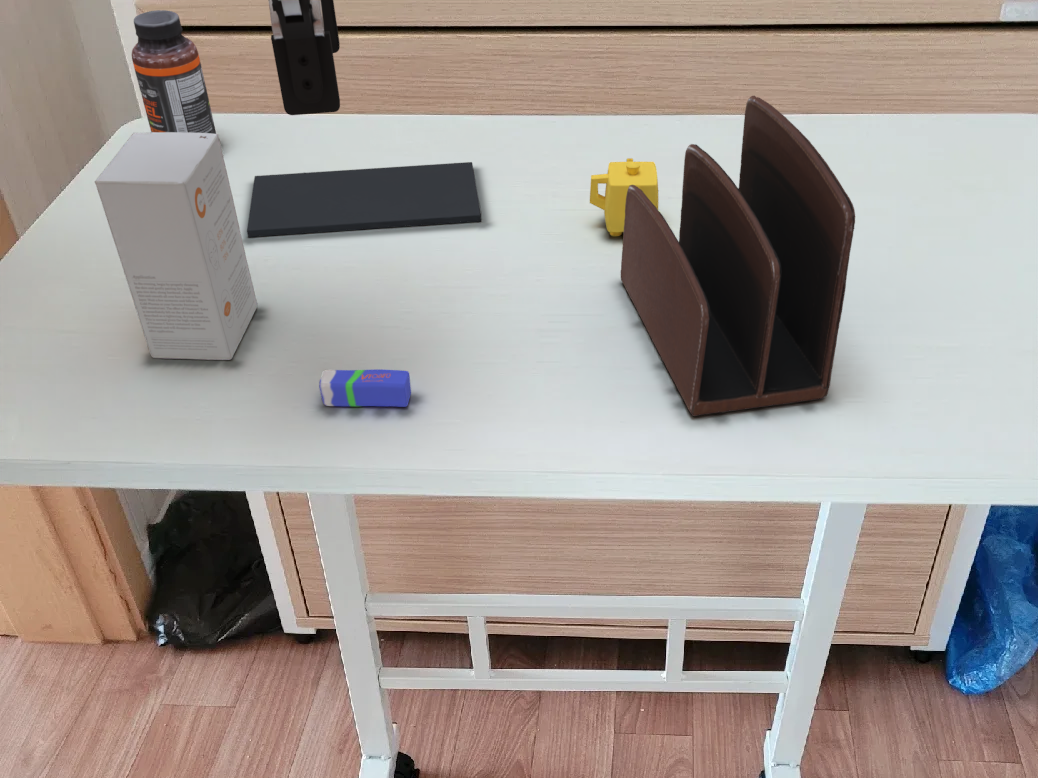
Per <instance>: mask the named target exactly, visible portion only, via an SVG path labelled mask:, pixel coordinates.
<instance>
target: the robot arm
mask: <svg viewBox="0 0 1038 778" xmlns="http://www.w3.org/2000/svg"><path fill="white" fill-rule="evenodd" d="M267 2H268V8H269V9H268V10H269V16H270V24H271V30H272V31H271V32H272V34H271V35H270V40H271V45H272V51H273V56H274V62H275V67H276V72H277V73H276V74H277V78H278V83H279V89H280V93H281V98H282V104H283V109H284V112H285V113H286V114H287V115H289V116H301V115H314V114H315V115H316V114H326V113H328V114H329V113H336V112H338V111H339V110H340V108H341V99H340V92H339V86H338V79H337V72H336V65H335V59H334V54H335V53H338V52H339V51H340V46H341V45H340V44H341V43H340V37H339V30H338V22H337V16H336V15H337V14H336V9H335V1H334V0H268V1H267Z"/></svg>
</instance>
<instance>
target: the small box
mask: <svg viewBox="0 0 1038 778" xmlns="http://www.w3.org/2000/svg"><path fill="white" fill-rule="evenodd" d="M94 184H95V187H96V190H97V193H98V196H99V199H100V202H101V205H102V209H103V211H104V214H105V217H106V221H107V224H108V227H109V230H110V233H111V236H112V239H113V243H114V245H115V248H116V251H117V255H118V258H119V261H120V264H121V267H122V271H123V273H124V276H125V280H126V282H127V285H128V288H129V292H130V295H131V298H132V301H133V305H134V307H135V310H136V313H137V317H138V320H139V323H140V326H141V329H142V332H143V335H144V339H145V342H146V345H147V348H148V351H149V354H150V356H151V357H152V358H153V359H179V360H181V359H182V360H208V361H230V360H232V359H233V358H234V354H235V352H236V351H237V349H238V347H239V345H240V342H241V341H242V340H243V337H244V334H245V333H246V331H247V329H248V327H249V324H250V323H251V320H252V318H253V316H254V314H255V312H256V310H257V308H258V306H259V304H258V300H257V297H256V293H255V288H254V284H253V280H252V274H251V272H250V271H251V270H250V267H249V263H248V259H247V255H246V250H245V246H244V242H243V237H242V233H241V227H240V224H239V223H240V222H239V219H238V215H237V211H236V206H235V202H234V197H233V192H232V187H231V183H230V179H229V175H228V171H227V166H226V162H225V158H224V153H223V149H222V144H221V141H220V136H219V134H218V133H216V134H212V133H188V132H151V131H149V132H148V131H147V132H144V131H143V132H133V133H132V134H131V135H130V137H129V138H128V139H127V140H126V142H124V144H123V145H122V147H120V149H119V150H118V151H117V153H116V154H115V155H114V157H113V158H112V159H111V161H110V162H109V163H108V164H107V165H106V167H105V168H104V169H103V170H102V171H101V173H100V174H99V175H98V177H97V178H96V179H95V180H94Z"/></svg>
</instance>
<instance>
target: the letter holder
mask: <svg viewBox="0 0 1038 778" xmlns="http://www.w3.org/2000/svg"><path fill="white" fill-rule="evenodd" d="M745 103H746V104H745V110H744V119H743V132H742V143H741V153H740V154H741V155H740V167H739V168H740V169H739V180H738V186H737V185H736V183H735V182H734V180H733V179H732V178H731V177H730V175H729V174H727V172H726V171H725V169H724V168H722V166H721V165H720V164H719V162H717V161H716V159H714V158H713V157H712V156H711V155H710V153H708V152H707V151H705V150H704V149H702V147H700V146H699V145H698V144H693V143H690V144H689V145H688V146H687V148H686V150H685V152H684V153H685V154H684V162H683V174H682V175H683V178H682V190H681V191H682V192H681V193H682V195H681V207H680V221H679V233H678V236H679V237H678V238H677V236H676V235H675V233H674V231H673V230H672V228H671V227H670V225H669V223H668V222H667V220H666V218H665V217H664V216H663V214H662V213H661V211H659V209H658V210H657V208H656V207H655V206H654V204H653V203H652V202H651V201H650V200H649V199H648V197H647V196H646V195H645V194H644V192H643V191H642V190H641V189H639V188H638V187H636V186H635V185H630V186H629V188H628V191H627V196H626V204H625V220H624V232H623V233H622V234H623V237H622V238H623V239H622V248H621V249H622V250H621V260H620V262H621V263H620V280H621V283H622V284H623V286H624V288H625V290H626V291H627V294H628V295H629V298H630V300H631V302H632V303H633V305H634V307H635V309H636V311H637V314H638V315H639V317H640V319H641V322H642V323H643V325H644V326H645V329H646V331H647V333H648V335H649V336H650V339H651V340H652V342H653V344H654V347H655V348H656V350H657V353H658V354H659V356H660V358H661V360H662V362H663V364H664V366H665V369H666V370H667V372H668V373H669V375H670V378H671V379H672V381H673V383H674V385H675V387H676V388H677V391H678V393H679V394H680V396H681V398H682V400H683V401H684V405H685V406H686V408H687V410H688V411H689V413H690V414H691V415H692V416H693V417H697V416H704V415H712V414H719V413H728V412H729V413H730V412H735V411H742V410H743V411H744V410H750V409H757V408H766V407H773V406H782V405H787V404H793V403H796V404H797V403H802V402H808V401H809V402H810V401H818V400H823V399H825V398H826V397H827V396H828V394H829V390H830V386H831V381H832V372H833V366H834V360H835V354H836V349H837V342H838V341H837V340H838V334H839V329H840V323H841V318H842V314H843V313H842V312H843V308H844V302H845V301H844V300H845V296H846V295H845V294H846V287H847V286H846V285H847V279H848V278H847V277H848V276H847V275H848V270H849V263H850V255H851V250H852V243H853V239H854V230H855V224H856V211H855V207H854V203H853V202H852V200H851V198H850V196H849V195H848V193H847V192H846V191H845V189H844V187H843V185H842V184H841V182H840V181H839V179H838V177H836V175H835V173H834V172H833V170H832V169H831V167H830V166H829V164H828V163H827V161H826V160H825V159H824V157H823V156H822V154H821V153H820V152H819V151H818V150H817V149H816V147H815V145H813V144H812V142H811V141H810V140H809V139H808V138H807V137H806V136H805V135H804V134H803V133H802V131H800V129H798V127H796V126H795V125H794V123H792V122H791V121H790V120H789V119H788V118H787V117H786V116H784V114H783V113H781V112H780V111H779V110H778V109H777V108H776V107H774V106H773V105H772V104H770V103H769V102H767V101H766V100H764V99H762V98H761V97H759V96H755V95H751V96H750V97H749V98H748V99H747V101H746V102H745Z"/></svg>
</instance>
